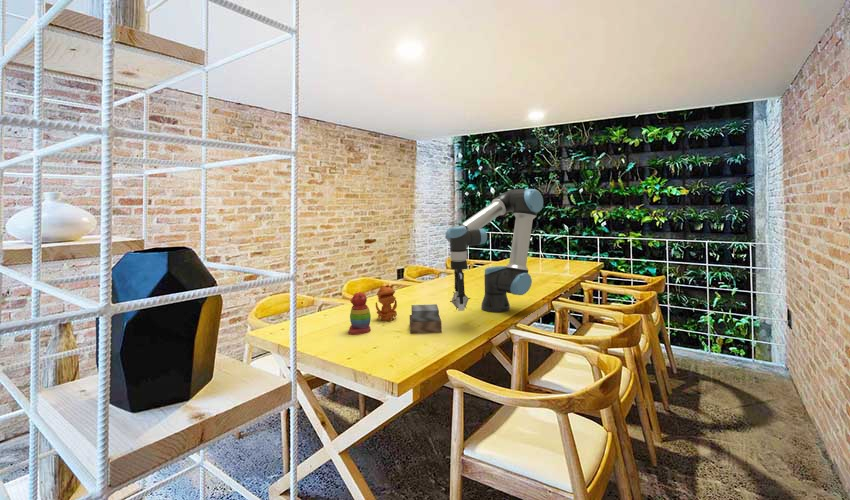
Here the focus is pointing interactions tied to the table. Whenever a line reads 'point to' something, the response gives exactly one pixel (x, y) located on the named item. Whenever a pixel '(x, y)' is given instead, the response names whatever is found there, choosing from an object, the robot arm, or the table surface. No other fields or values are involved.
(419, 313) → the dark grey tapered block
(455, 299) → the grey spiked ball
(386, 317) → the brown upright figure
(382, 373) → the table surface
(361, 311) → the stacking bear
